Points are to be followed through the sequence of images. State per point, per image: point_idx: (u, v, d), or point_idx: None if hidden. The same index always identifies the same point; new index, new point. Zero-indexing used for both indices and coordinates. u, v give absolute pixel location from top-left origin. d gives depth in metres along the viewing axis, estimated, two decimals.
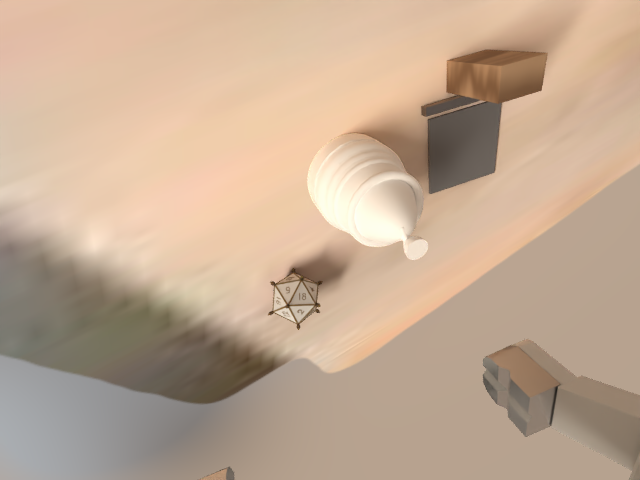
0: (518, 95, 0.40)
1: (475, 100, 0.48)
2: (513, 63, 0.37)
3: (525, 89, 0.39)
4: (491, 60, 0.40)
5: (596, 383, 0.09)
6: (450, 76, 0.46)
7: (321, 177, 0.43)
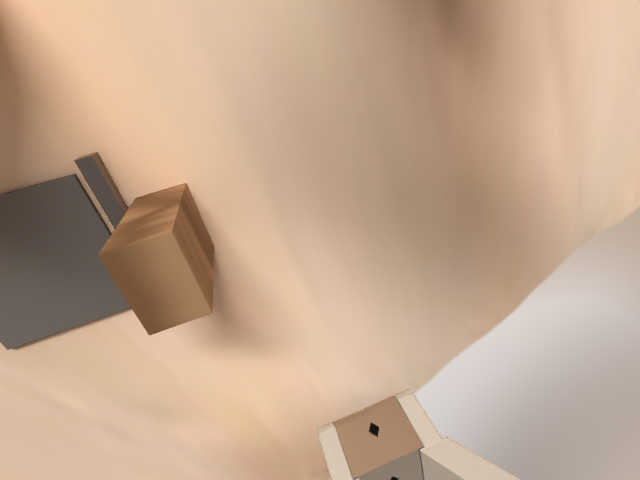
0: (127, 293, 0.20)
1: None
2: (182, 255, 0.19)
3: (142, 303, 0.20)
4: (188, 231, 0.23)
5: (460, 447, 0.08)
6: (161, 193, 0.26)
7: None
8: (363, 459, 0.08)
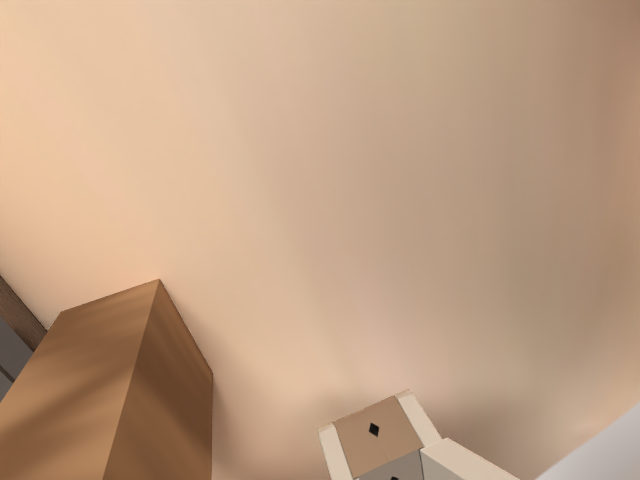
0: None
1: None
2: None
3: None
4: (152, 442, 0.10)
5: (460, 447, 0.08)
6: (108, 305, 0.13)
7: None
8: (363, 459, 0.08)
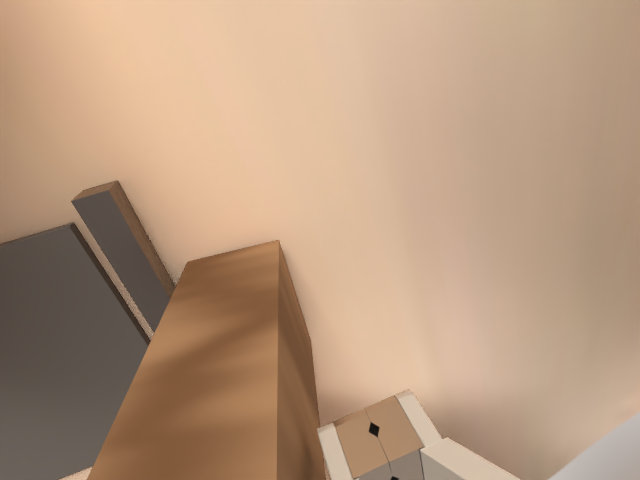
0: None
1: None
2: None
3: None
4: (293, 396, 0.10)
5: (460, 447, 0.08)
6: (233, 260, 0.14)
7: None
8: (363, 459, 0.08)
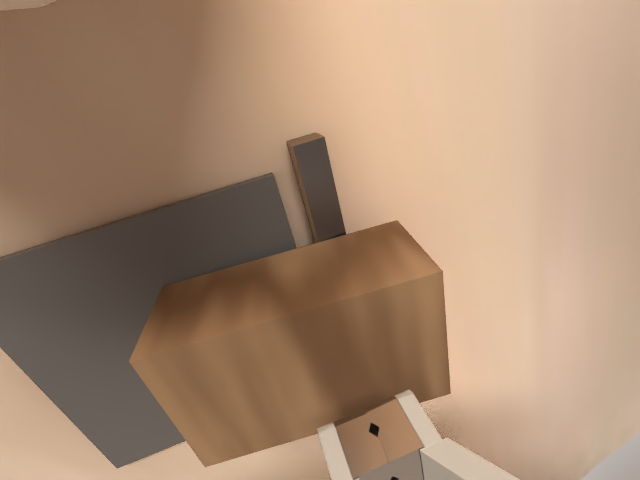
0: None
1: None
2: (154, 391, 0.11)
3: None
4: (260, 365, 0.11)
5: (460, 447, 0.08)
6: (395, 249, 0.12)
7: None
8: (363, 459, 0.08)
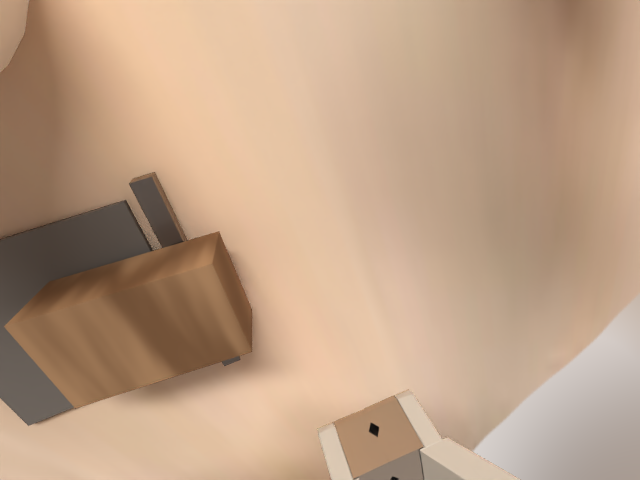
0: None
1: None
2: (26, 349, 0.17)
3: None
4: (98, 329, 0.17)
5: (460, 447, 0.08)
6: (200, 251, 0.18)
7: None
8: (363, 459, 0.08)
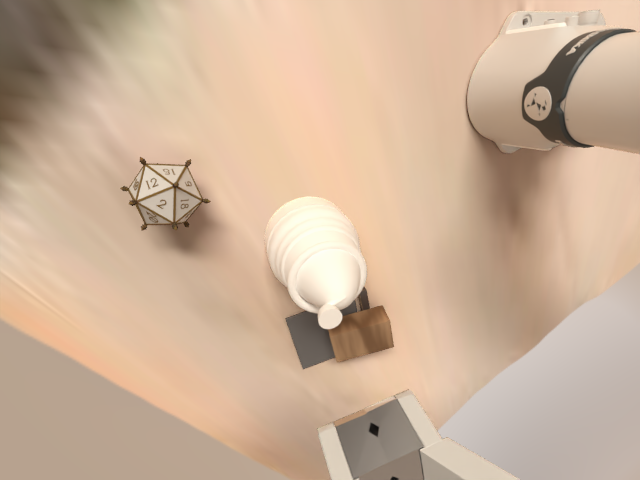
0: None
1: None
2: None
3: None
4: (353, 338, 0.55)
5: (460, 447, 0.08)
6: (381, 314, 0.56)
7: (332, 210, 0.44)
8: (363, 459, 0.08)
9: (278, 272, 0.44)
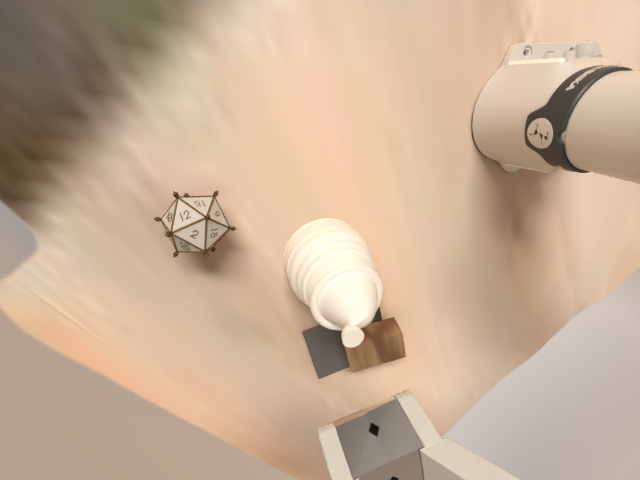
0: None
1: None
2: (347, 354, 0.58)
3: (345, 349, 0.62)
4: (367, 349, 0.58)
5: (460, 447, 0.08)
6: (393, 326, 0.59)
7: (349, 232, 0.47)
8: (363, 459, 0.08)
9: (299, 292, 0.46)
